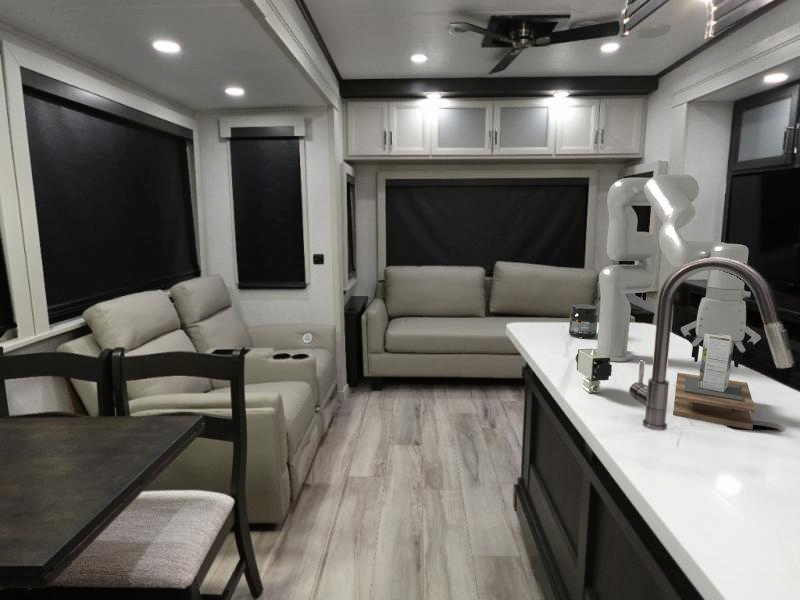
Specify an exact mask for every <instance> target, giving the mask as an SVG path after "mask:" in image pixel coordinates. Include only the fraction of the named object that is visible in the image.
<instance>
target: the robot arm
mask: <svg viewBox="0 0 800 600" xmlns="http://www.w3.org/2000/svg"><path fill="white" fill-rule="evenodd" d="M699 187H700V186H699V183H698V181H697V179H696V178H694V176H692V175H689V174H672V173H671V174H657V175H654V176H652V177H626V178H625V177H624V178H622V179H619V180H616V181H614V182H613V183H612V185H611V186H610V188H609V190H608V193H607V196H606V197H607V199H606V203H607V210H608V211H607V212H608V227H607V228H608V229H607V240H606V255H607V257H608V258H609V259H610V260H611V261H617V262H619V261H621V262H631V261H632V262H633V261H634V264H612V265H608V266H606V267H604V268H602V269H601V271H600V272H599V275H598V282H599V283H598V284H599V292H600V304H599V305H600V306H599V316H598V329H597V331H598V332H597V346H596V348H594V349H595V350H596V351H598V352H600V353H604V354H606V356H607V357H609V358H610V362H628V361H631V360H632V357H633V355H632V354H631V353H630V352H629V351H628V346H629V334H630V332H629V331H630V322H631V311H632V310H631V304H630V303H631V302H630V300H629V299H628V297H627V296H626V294H637V293H639V294H640V293H647V292H649V291H650V290H652V288H653V286H654V284H655V281H656V275H657V265H658V256H659V249H660V250H661V252H662V254H663V256H664V258H665V259H666V260H667V262H668V263H669V265H671V267H673V268H674V269H675V270H678V269H677V268H679V267H680V266H682V265H684V264H686V263H689V262H692V261H695V260H699V259H703V258H709V257H725V258H731V259H734V260H738V261H740V262H742V263H745V264H746V265H747V266H748V259H749V248H748V247H747V246H746V245H743V244H739V243H727V242H722V241H716V240H689V241H688V240H687V241H686V240H685V239H684V237H683V236H682V234H681V233H680V231H679V230H681V229H682V228H684V227H685V226H687V225H689V223H691V221H693V220H694V218H695V216H696V208H695V206H694V205H693V203H692V202H695V201H696V199H697V198H698V196H699V193H700V188H699ZM632 206H651V209H652V210H653V211H654V212H655V215H657V217H658V219H659V220H660V223H662V224H661V226H660V228H659V232H658V239H657V238H656V236H655V235H654V234H653V233H651V232H649V231H648V232H647V231H637V229H638V216H637V213H636V211H635V209H634V208H633V207H632ZM707 275H708V276H707V283H706V291H705V297H702V298H701V300H700V303H699V305H698V311H697V315H696V320H694V321H692V322H690V323H688V324H685V325H684V326H681V327H680V331H681V333H682V335H683V336H684V337H685V339H686V340H687V341H688V342H689V343H690V344H691V346H692V347H691V348H692V349H691V358H693V359H694V363H697V362H698V361H699V352H700V345H699V344H700V343H701V342H702V341H704V335H705V333H713V334H722V335H728V336H731V337H732V342H734V345H735V347H736V349H735V353H734V360H733V366H734V367H735V368H737V369H739V364H740V365H741V364H743V358H744V353H745V352H746V351H747V350H749V349H750V348H753V347H754V345H755V344H757V342H758V341H760V340H761V339H762V337H761V335H760V334H759V333H758V332H756V331H755V330H753V329H751V328H750V327H749V326H747V325H746V323H747V306H746V305H747V304H746V300H744V299H745V298H751V291H746V290H745V283H744V282H743V281H742V280H740V279H739V278H737V277H736V276H734V275H731V274H729V273H726V272H723V271H719V270H708V274H707ZM692 329H694V330H695V334H696V335H695V337H694V336H692V335H691V334H690V332H689V331H690V330H692ZM745 333H746V334H747V335H748V336H750V337H751V338H750V339H749V340H747V341H746V342H743V341H744V339H745V335H746V334H745Z"/></svg>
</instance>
